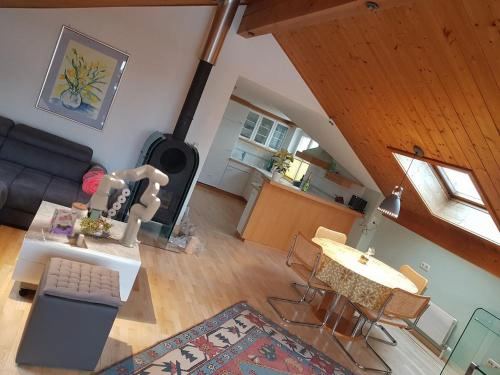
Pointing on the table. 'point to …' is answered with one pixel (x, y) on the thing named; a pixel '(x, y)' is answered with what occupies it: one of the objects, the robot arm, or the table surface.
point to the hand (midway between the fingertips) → (92, 217)
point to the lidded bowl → (79, 209)
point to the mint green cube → (94, 214)
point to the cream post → (80, 240)
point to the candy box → (63, 221)
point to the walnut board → (74, 240)
